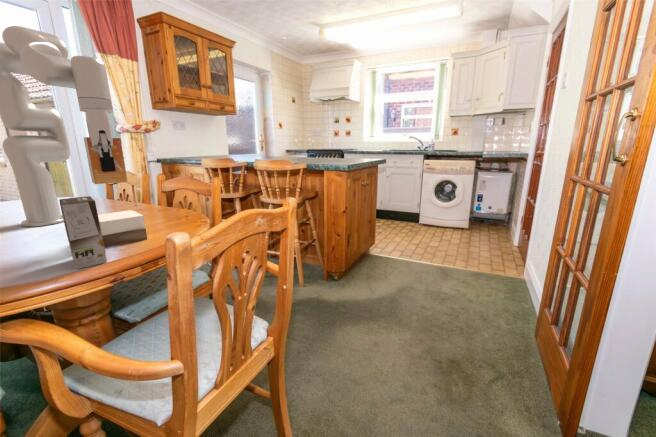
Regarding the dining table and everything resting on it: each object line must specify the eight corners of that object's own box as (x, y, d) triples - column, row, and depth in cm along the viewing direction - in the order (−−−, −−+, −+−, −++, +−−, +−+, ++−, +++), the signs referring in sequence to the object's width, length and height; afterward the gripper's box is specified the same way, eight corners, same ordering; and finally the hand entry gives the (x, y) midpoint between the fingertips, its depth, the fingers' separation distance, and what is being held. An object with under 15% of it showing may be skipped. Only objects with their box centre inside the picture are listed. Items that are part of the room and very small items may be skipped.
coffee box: (108, 262, 75) (96, 200, 71) (75, 269, 71) (60, 204, 67) (102, 252, 81) (90, 195, 77) (72, 259, 77) (57, 198, 73)
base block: (97, 239, 94) (95, 227, 93) (141, 232, 102) (139, 220, 101) (100, 249, 85) (97, 236, 84) (147, 241, 93) (145, 228, 92)
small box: (94, 184, 83) (85, 137, 80) (91, 182, 88) (82, 137, 84) (128, 182, 89) (120, 137, 85) (124, 180, 93) (116, 137, 90)
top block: (93, 228, 92) (90, 215, 91) (133, 221, 100) (131, 210, 99) (102, 235, 85) (100, 222, 84) (145, 227, 93) (143, 215, 92)
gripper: (78, 108, 87) (91, 169, 92) (78, 102, 74) (93, 173, 79) (110, 109, 92) (120, 167, 96) (115, 104, 79) (126, 172, 83)
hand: (108, 170), depth 87 cm, fingers closed on small box, 6 cm apart
